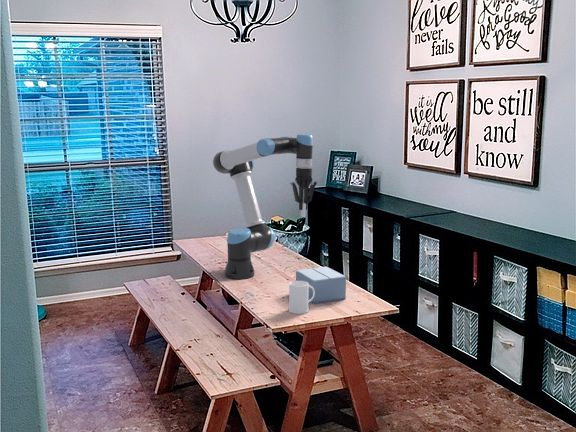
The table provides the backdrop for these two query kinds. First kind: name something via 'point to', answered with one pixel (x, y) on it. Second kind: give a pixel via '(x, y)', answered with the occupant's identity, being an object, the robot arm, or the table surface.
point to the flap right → (328, 272)
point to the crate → (325, 289)
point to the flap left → (312, 275)
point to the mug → (299, 297)
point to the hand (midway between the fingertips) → (303, 216)
